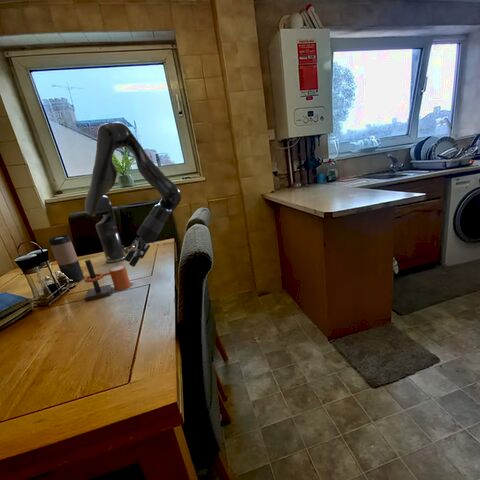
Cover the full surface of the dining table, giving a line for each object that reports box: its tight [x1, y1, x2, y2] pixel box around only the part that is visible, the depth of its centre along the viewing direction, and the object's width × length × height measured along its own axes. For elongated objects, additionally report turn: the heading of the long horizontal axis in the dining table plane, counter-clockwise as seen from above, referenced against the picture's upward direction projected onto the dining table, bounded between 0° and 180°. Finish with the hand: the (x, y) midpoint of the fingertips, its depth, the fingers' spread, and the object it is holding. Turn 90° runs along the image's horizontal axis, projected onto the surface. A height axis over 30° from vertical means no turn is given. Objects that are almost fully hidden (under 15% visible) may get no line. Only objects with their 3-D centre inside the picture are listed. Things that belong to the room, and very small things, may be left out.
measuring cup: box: [83, 265, 131, 291], centre depth 108 cm, size 14×6×8 cm, turn 127°
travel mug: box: [48, 234, 85, 284], centre depth 122 cm, size 8×8×20 cm
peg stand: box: [84, 259, 113, 302], centre depth 105 cm, size 8×8×14 cm
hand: (128, 263), depth 111 cm, fingers open, 8 cm apart
